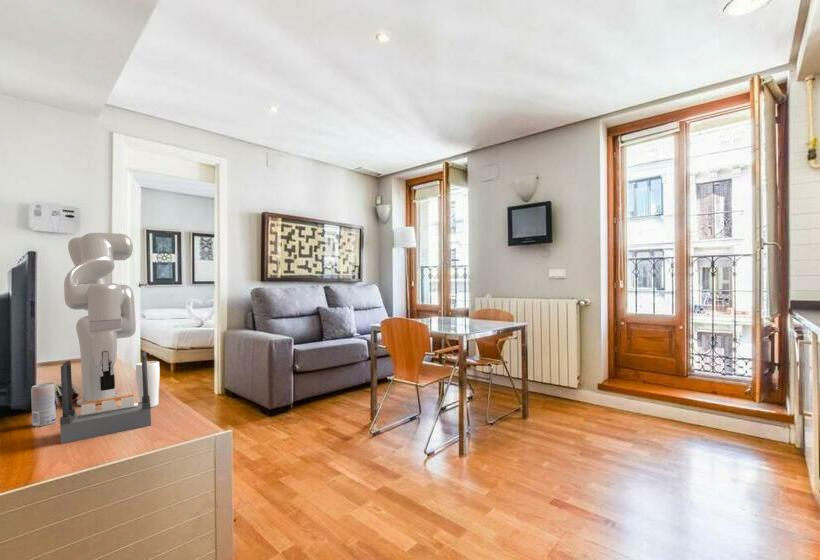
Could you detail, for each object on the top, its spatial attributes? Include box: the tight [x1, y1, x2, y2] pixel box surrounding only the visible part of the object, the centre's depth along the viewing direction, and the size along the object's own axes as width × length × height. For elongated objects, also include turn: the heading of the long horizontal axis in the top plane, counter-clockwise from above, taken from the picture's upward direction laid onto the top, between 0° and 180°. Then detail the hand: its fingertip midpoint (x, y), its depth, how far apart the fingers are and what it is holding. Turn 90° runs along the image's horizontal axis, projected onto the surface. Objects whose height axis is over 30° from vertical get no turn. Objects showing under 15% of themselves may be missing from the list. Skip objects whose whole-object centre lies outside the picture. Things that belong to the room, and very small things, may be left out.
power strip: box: [59, 401, 152, 444], centre depth 114 cm, size 10×20×5 cm, turn 125°
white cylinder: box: [135, 360, 161, 409], centre depth 135 cm, size 7×7×15 cm
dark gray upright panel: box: [59, 360, 76, 425], centre depth 109 cm, size 10×2×16 cm, turn 35°
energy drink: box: [30, 382, 57, 428], centre depth 121 cm, size 5×5×12 cm
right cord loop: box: [141, 351, 151, 410], centre depth 119 cm, size 10×2×16 cm, turn 35°
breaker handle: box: [77, 393, 139, 417], centre depth 114 cm, size 2×14×4 cm, turn 124°
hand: (107, 389), depth 114 cm, fingers closed
